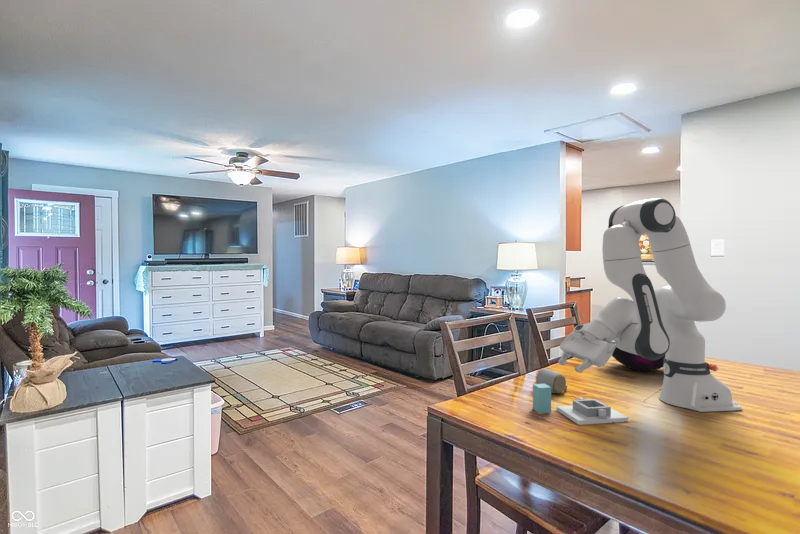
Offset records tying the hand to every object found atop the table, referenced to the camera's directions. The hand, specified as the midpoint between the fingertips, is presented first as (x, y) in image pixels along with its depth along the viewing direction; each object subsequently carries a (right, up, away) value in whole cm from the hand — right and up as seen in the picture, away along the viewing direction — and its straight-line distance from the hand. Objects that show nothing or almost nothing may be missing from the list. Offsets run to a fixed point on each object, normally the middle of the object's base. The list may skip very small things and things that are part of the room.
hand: (568, 367), depth 132 cm
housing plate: (+5, -13, -5) cm, 15 cm away
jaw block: (-9, -13, -1) cm, 16 cm away
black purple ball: (+52, -13, +50) cm, 73 cm away
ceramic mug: (+2, -13, +20) cm, 24 cm away
